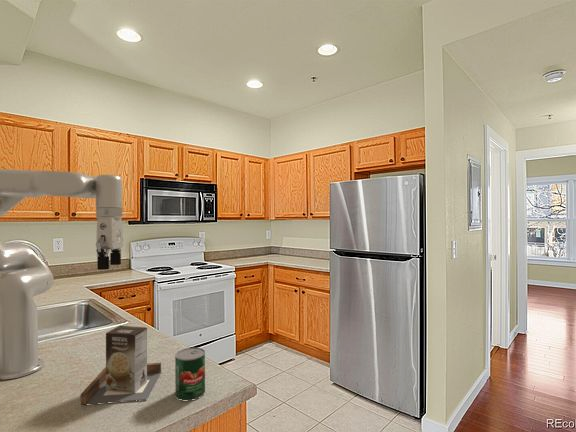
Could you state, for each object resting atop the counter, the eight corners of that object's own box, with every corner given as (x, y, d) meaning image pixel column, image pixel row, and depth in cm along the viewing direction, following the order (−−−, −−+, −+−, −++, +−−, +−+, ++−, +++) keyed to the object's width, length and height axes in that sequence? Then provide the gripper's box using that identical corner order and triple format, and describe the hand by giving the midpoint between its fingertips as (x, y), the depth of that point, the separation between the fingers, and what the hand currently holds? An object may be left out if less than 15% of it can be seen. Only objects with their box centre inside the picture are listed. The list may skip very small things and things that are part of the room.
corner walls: (80, 405, 85) (80, 394, 85) (106, 375, 101) (106, 366, 101) (146, 400, 88) (146, 389, 88) (161, 372, 103) (161, 362, 103)
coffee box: (104, 391, 91) (103, 332, 91) (119, 379, 98) (119, 325, 98) (135, 393, 90) (134, 334, 90) (148, 382, 96) (148, 326, 96)
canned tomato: (189, 404, 86) (188, 362, 85) (169, 396, 90) (168, 355, 90) (211, 390, 92) (211, 351, 92) (191, 383, 96) (191, 345, 96)
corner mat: (80, 405, 85) (80, 403, 85) (106, 375, 101) (106, 374, 101) (146, 400, 88) (146, 398, 88) (161, 372, 103) (161, 370, 103)
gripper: (111, 213, 99) (111, 271, 99) (130, 213, 116) (131, 262, 116) (83, 213, 98) (84, 271, 98) (107, 213, 115) (108, 263, 115)
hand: (109, 266), depth 107 cm, fingers open, 9 cm apart
